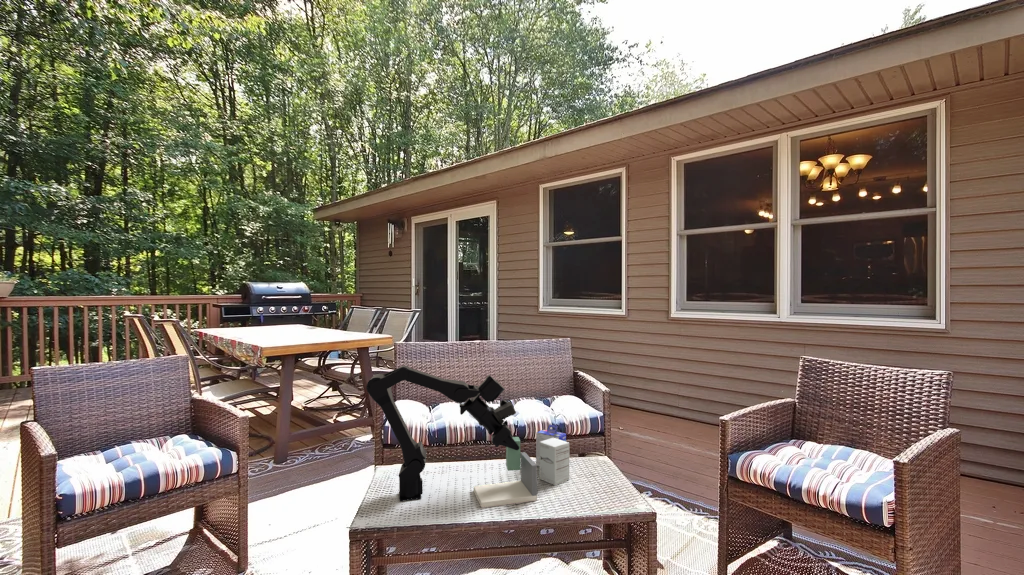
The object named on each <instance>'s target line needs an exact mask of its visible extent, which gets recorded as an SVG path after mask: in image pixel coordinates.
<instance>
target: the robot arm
mask: <svg viewBox="0 0 1024 575" xmlns="http://www.w3.org/2000/svg"><path fill="white" fill-rule="evenodd" d="M403 381H405V382H409V383H411V384H413V385H414V384H415V385H417V386H421V387H423V388H426V389H429V390H433V391H436V392H437V393H440V394H442V395H443V396H445V397H447V398H448V399H450V400H451V401H453V402H455V403H458V404H459V413H460V415H462V416H463V414H465V413H466V412H467V413H468V414H469V415H470V416H471V417H473V419H475V421H477V422H478V424H479V426H480V427H483V429H485V430H486V431H487V434H488V435H490V436H491V443H492V444H493V446H495V447H496V448H498V447H499V446H501V447H502V446H503V447H505V448H506V447H508V448H511V449H514V450H518V449H519V446H518V445H517V443H516V442H515V441H514V439H513V438H512V437H514V436H513V434H512V429H511V427H509V422H508V420H506V418H509V417H511V416H514V415H516V414H517V411H516V409H515V408H514V405H513V403H512V401H506V400H505V399H502V400H500V401H499V406H497V408H494V407H493V406H490V405H488V404H487V403H494V402H495V401H496V400H497V398H498V397H499V396H501V395H502V393H503V392H504V391H505V390H506V388H505V386H503V384H501V383H500V382H499V381H498V380H497V379H495V378H494V377H492V375H491V374H489V375H487V376H486V377H485V379H484V380H483V381H482V382H481V383H480V384H479V385H474V384H468V382H465V381H464V380H457V379H448V378H447V379H445V378H441V377H439V376H436V375H433V374H430V373H426V372H423V371H421V370H418V369H414V368H411V367H410V366H408V365H401V366H399V367H398V368H396V369H394V370H390V371H389V372H386V373H384V374H382V373H377V374H374V375H373V376H372V377H371V378H370V380H368V382H367V383H366V386H365V388H366V391H367V394H368V395H369V397H370V398H372V400H373V401H374V402H375V403H376V404H377V405H378V406H379V407H380V409H381V411H382V412H383V414H384V416H385V418H386V420H387V422H388V425H389V427H390V428H391V430H392V432H393V434H394V436H395V438H396V440H397V442H398V444H399V446H400V448H401V453H402V457H403V458H402V459H403V463H402V464H401V466H400V470H399V473H398V482H399V487H398V490H399V491H398V501H399V500H400V502H404V501H403V500H406V501H413V500H421V499H422V495H423V491H424V490H423V478H422V477H421V473H422V472H423V471H424V470H425V467H426V463H427V461H426V460H427V450H426V448H425V447H424V444H423V441H422V440H420V441H418V442H417V441H416V440H415V439H414V438H413V437H412V434H411V432H410V430H409V428H408V426H407V424H406V422H405V420H404V418H403V416H402V414H401V413H400V411H399V409H398V406H397V404H396V402H395V401H394V397H393V392H392V387H394V386H395V385H398V384H399V383H400V382H403ZM504 420H505V421H504Z"/></svg>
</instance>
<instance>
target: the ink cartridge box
mask: <svg viewBox="0 0 1024 575" xmlns="http://www.w3.org/2000/svg"><path fill="white" fill-rule="evenodd" d="M552 428H553V429H552ZM557 430H558V425H555V424H548V428H547V429H542V430H539V431H537V432H535V434H536V436H535V437H536V438H535V439H536V441H535V442H536V445H535V447H536V448H535V449H536V450H535V459H536V460H535V464H536V465H537V467H539V466H540V442H541V441H544V440H547V439H550V438H556V439H559V440H563V441H566V442H567V433H564V432H561V431H557Z"/></svg>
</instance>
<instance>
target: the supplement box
mask: <svg viewBox="0 0 1024 575" xmlns="http://www.w3.org/2000/svg"><path fill="white" fill-rule="evenodd" d="M539 480H541V481H544V482H546V483H548V484H551V485H553V486H557V485H560V483H561V484H563V483H566V482H567V480H568V481H570V442H569V441H567V440H566V441H563V440H559V439H556V438H550V439H547V440H544V441H541V442H540V467H539ZM565 481H566V482H565ZM562 482H563V483H562Z"/></svg>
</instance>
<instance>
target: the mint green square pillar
mask: <svg viewBox="0 0 1024 575" xmlns="http://www.w3.org/2000/svg"><path fill="white" fill-rule="evenodd" d="M512 438H513V439H514V441H515V442H516V443H517V445H518V446H519V449H518V450H514V449H511V448H508V447H505V455H506V456H505V466H506V470H507V472H508V471H509V472H511V471H521V439H520V437H519V436H513V437H512Z"/></svg>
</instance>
